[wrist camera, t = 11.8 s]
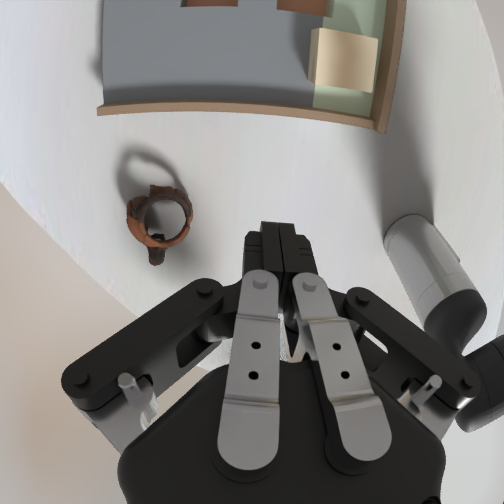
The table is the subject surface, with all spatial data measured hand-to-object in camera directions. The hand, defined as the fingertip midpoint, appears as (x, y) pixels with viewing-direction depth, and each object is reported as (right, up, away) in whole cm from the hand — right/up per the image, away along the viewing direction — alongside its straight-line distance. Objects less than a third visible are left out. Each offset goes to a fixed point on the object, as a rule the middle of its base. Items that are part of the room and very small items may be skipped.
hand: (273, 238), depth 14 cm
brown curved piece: (-14, +5, +29) cm, 33 cm away
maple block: (+8, +20, +13) cm, 25 cm away
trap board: (-2, +25, +14) cm, 29 cm away
